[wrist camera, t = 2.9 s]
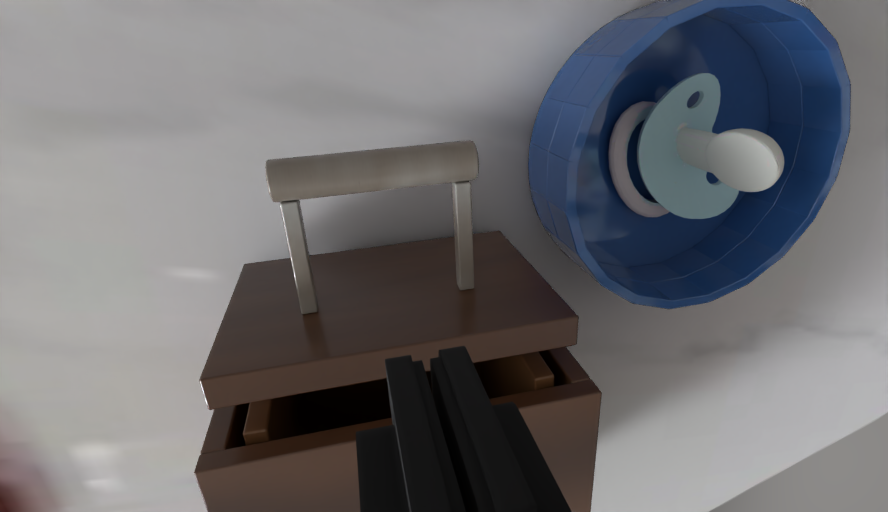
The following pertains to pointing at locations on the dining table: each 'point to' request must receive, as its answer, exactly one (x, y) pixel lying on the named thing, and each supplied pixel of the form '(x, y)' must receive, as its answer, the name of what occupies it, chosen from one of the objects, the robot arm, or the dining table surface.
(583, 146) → the bowl
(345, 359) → the drawer
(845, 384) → the dining table surface
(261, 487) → the cabinet
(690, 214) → the pacifier
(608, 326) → the dining table surface
